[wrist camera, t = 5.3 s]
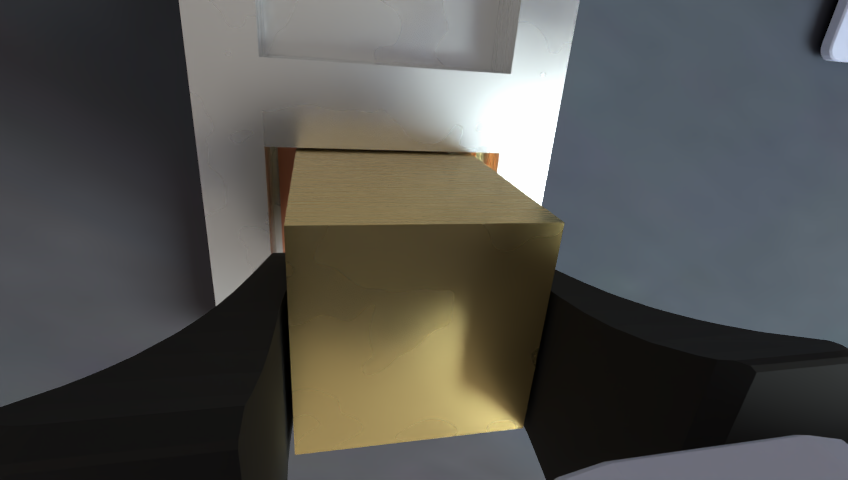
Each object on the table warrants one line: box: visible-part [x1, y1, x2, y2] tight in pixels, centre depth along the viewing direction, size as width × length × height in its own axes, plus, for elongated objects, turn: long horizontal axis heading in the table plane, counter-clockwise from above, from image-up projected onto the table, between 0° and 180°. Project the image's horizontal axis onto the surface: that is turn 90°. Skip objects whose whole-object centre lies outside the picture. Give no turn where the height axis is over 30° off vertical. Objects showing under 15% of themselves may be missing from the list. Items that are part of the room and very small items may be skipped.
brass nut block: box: [284, 148, 564, 455], centre depth 11 cm, size 4×4×6 cm
